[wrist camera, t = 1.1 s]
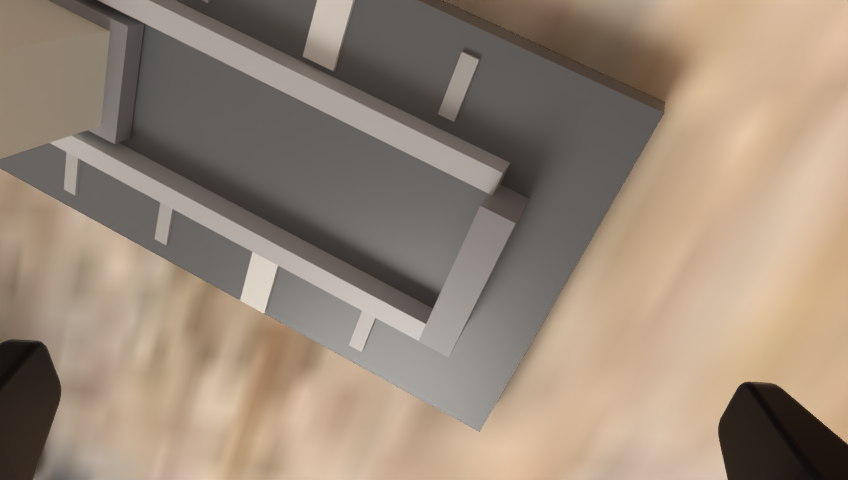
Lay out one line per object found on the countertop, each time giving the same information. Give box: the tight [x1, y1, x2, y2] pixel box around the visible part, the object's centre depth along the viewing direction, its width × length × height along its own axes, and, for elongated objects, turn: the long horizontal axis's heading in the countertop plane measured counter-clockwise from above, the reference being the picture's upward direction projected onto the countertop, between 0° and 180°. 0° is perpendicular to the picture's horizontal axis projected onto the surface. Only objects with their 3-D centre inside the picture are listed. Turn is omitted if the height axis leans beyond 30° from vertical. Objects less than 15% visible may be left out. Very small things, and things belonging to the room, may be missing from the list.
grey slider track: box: [0, 0, 665, 432], centre depth 20 cm, size 24×12×3 cm, turn 70°
